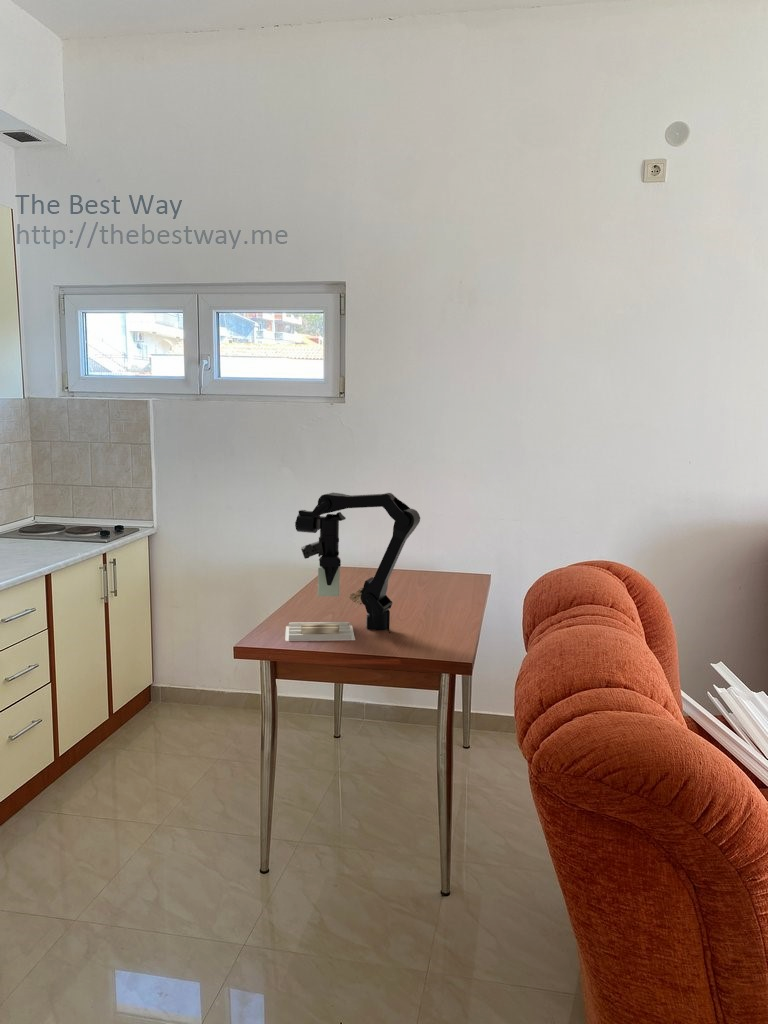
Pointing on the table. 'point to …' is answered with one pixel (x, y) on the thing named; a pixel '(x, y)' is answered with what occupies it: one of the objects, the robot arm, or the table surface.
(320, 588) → the sage green block
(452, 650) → the table surface
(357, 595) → the wooden fragment
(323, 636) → the slot rack
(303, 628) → the offcut bundle
